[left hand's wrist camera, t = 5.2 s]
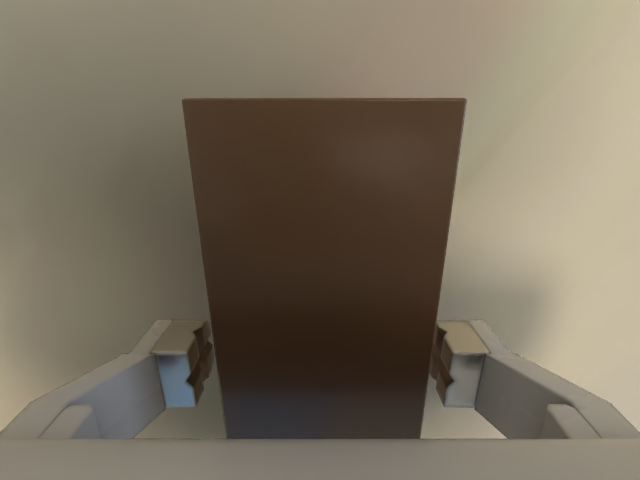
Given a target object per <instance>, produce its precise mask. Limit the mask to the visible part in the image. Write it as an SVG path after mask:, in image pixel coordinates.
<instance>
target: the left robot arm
mask: <svg viewBox="0 0 640 480" xmlns="http://www.w3.org/2000/svg"><path fill="white" fill-rule="evenodd" d="M210 334H211V329H210V323H209V322H208V321H203V320H157V321H155V322H154V323H153V324H152V326H151V327H150V328H149V330H148V331H147V332H146V333H145V335H144V336H143V337H142V338H141V340H140V341H139V342H138V343H137V345H136V346H135V347H134V348H133V350H132V351H131V352H130V353H129V354H122V355H120V356H119V357H117V358H115V359H113V360H111V361H109V362H107V363H105V364H103V365H101V366H99V367H97V368H96V369H94V370H92V371H90V372H88V373H86V374H84V375H82V376H80V377H78V378H76V379H75V380H73V381H71V382H69V383H67V384H65V385H63V386H61V387H59V388H57V389H55V390H53V391H52V392H50V393H48V394H46V395H44V396H42V397H40V398H38V399H36V400H34V401H32V402H30V403H29V404H28V405H27V406H26V407H25V408H24V409H23V410H22V411H21V412H20V413H19V414H18V415H17V416H16V417H15V418H14V419H13V420H12V421H11V422H10V423H9V424H8V425H7V426H6V427H5V428H4V429H3V430H2V431H1V432H0V480H640V432H639V431H638V430H637V429H636V428H635V427H634V426H633V425H632V424H631V423H630V422H629V421H628V420H627V419H626V418H625V417H624V416H623V415H622V414H621V413H620V412H619V411H618V410H617V409H616V408H615V407H614V406H613V405H612V404H611V403H609V402H607V401H606V400H604V399H602V398H600V397H598V396H596V395H594V394H592V393H590V392H588V391H586V390H585V389H583V388H581V387H579V386H577V385H575V384H573V383H571V382H569V381H567V380H565V379H563V378H562V377H560V376H558V375H556V374H554V373H552V372H550V371H548V370H546V369H544V368H542V367H541V366H539V365H537V364H535V363H533V362H531V361H529V360H527V359H525V358H523V357H521V356H520V355H518V354H511V353H510V352H509V351H508V350H507V348H506V347H505V346H504V345H503V343H502V342H501V341H500V340H499V338H498V337H497V336H496V335H495V333H494V332H493V331H492V330H491V328H490V327H489V326H488V325H487V323H486V322H485V321H483V320H462V321H436V326H435V334H434V341H433V348H432V355H431V363H430V370H429V373H430V375H431V377H432V378H433V379H435V380H436V381H437V386H436V389H437V392H438V394H439V396H440V399H441V401H442V403H443V406H444V407H469V408H475V410H476V411H477V412H478V413H480V414H481V415H482V416H483V417H484V418H485V419H486V420H487V421H489V422H490V423H491V424H492V425H493V426H494V427H495V428H496V429H498V430H499V431H500V432H501V433H502V434H503V435H504V436H505V437H507V438H508V439H132V438H134V437H135V436H136V435H137V434H138V433H139V432H140V431H141V430H143V429H144V428H145V427H146V426H147V425H148V424H149V423H151V422H152V421H153V420H154V419H155V418H156V417H157V416H158V415H160V414H161V413H162V412H163V411H164V410H165V408H171V407H196V406H197V404H198V401H199V399H200V397H201V394H202V392H203V390H204V385H203V381H204V380H205V379H207V378H208V377H209V375H210V373H211V370H212V365H213V360H214V351H213V345H212V344H211V343H210V342H209V341H208V338H209V336H210Z"/></svg>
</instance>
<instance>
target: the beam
mask: <svg viewBox="0 0 640 480" xmlns="http://www.w3.org/2000/svg"><path fill="white" fill-rule="evenodd" d="M466 102H467V101H466V99H465V98H184V99H183V100H182V105H183V113H184V120H185V128H186V135H187V143H188V150H189V158H190V166H191V173H192V181H193V188H194V196H195V203H196V211H197V219H198V226H199V234H200V241H201V249H202V256H203V264H204V272H205V279H206V287H207V294H208V302H209V309H210V317H211V325H212V332H213V340H214V347H215V355H216V363H217V370H218V378H219V385H220V393H221V400H222V408H223V416H224V423H225V431H226V438H227V439H420V435H421V428H422V420H423V413H424V406H425V399H426V391H427V384H428V377H429V370H430V363H431V355H432V348H433V341H434V334H435V326H436V319H437V312H438V305H439V297H440V290H441V283H442V276H443V268H444V261H445V254H446V247H447V240H448V232H449V225H450V218H451V211H452V203H453V196H454V189H455V182H456V174H457V167H458V160H459V153H460V145H461V138H462V131H463V124H464V117H465V109H466Z"/></svg>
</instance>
